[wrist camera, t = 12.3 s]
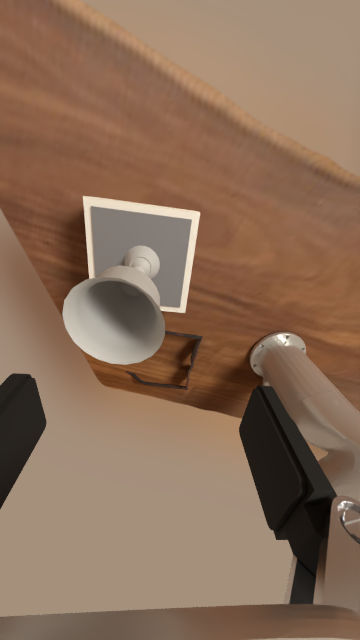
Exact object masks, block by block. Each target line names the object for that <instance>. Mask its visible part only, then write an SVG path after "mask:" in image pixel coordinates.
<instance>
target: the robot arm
mask: <svg viewBox="0 0 360 640" xmlns="http://www.w3.org/2000/svg"><path fill="white" fill-rule="evenodd" d="M250 365H251V367H252V369H253V370H254V372H255V373H256V374H258V375H260V376H262V377H263V380H262V381H263V385H262V386H257V388H256V389H253V391H252V394H251V397H250V399H249V402H248V405H247V408H246V410H245V413H244V416H243V419H242V421H241V424H240V428H239V433H240V437H241V440H242V443H243V447H244V450H245V453H246V457H247V460H248V463H249V466H250V469H251V473H252V476H253V479H254V482H255V486H256V489H257V491H258V495H259V498H260V502H261V505H262V508H263V511H264V515H265V518H266V521H267V524H268V526H269V528H270V529H271V530H273V531H274V534H275V537H276V540H288V541H289V544H290V546H291V549H292V552H293V558H292V564H291V569H290V574H289V579H288V584H287V589H286V594H285V600H284V604H279V605H278V604H276V605H241V606H219V607H218V606H217V607H193V608H170V609H149V610H128V611H107V612H86V613H66V614H47V615H28V616H10V617H0V640H360V413H359V412H358V411H357V410H356V409H355V408H354V407H353V405H352V404H351V403H350V402H349V401H348V400H347V399H346V398H345V397H344V396H343V395H342V394H341V393H340V391H339V390H338V389H337V388H336V387H335V386H334V385H333V384H332V383H331V382H330V381H329V380H328V378H327V377H326V376H325V375H324V374H323V373H322V372H321V371H320V370H319V369H318V368H317V367H316V365H315V364H314V363H313V362H312V361H311V360H310V359H309V358H308V357H307V356H306V346H305V343H304V342H303V341H302V339H301V338H300V337H299V336H297V335H295V334H293V333H290V332H277V333H273V334H270V335H268V336H266V337H264V338H263V339H261V340H260V341H259V342H258V343H257V344H256V345H255V346H254V348H253V349H252V351H251V353H250ZM45 427H46V418H45V414H44V411H43V407H42V404H41V399H40V396H39V392H38V388H37V385H36V381H35V379H34V378H32V377H31V375H29V374H12V375H10V376H9V377H8V378H7V379H6V380H5V381H4V382H3V383H2V385H0V509H1V507H2V505H3V503H4V501H5V500H6V498H7V496H8V494H9V492H10V491H11V489H12V487H13V485H14V484H15V482H16V480H17V478H18V476H19V474H20V473H21V471H22V469H23V467H24V465H25V464H26V462H27V460H28V458H29V457H30V455H31V453H32V451H33V449H34V448H35V446H36V444H37V442H38V440H39V439H40V437H41V435H42V433H43V431H44V429H45ZM306 441H307V442H308V443H310V444H311V445H313V446H315V447H317V448H320V449H322V450H324V451H327V452H328V455H327V456H325V457H324V458H322V459H320V460H319V461H317V460H316V458H315V456H314V455H313V453H312V451H311V449H310V448H309V446H308V444H307V443H306Z"/></svg>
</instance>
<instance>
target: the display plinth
mask: <svg viewBox="0 0 360 640" xmlns="http://www.w3.org/2000/svg"><path fill="white" fill-rule="evenodd" d="M83 203H84V216H85V229H86V242H87V255H88V268H89V279H92V278H96V277H97V276H98V275H99V274H100V273H101V272H103V271H104V270H106V269H107V268H110V267H115V266H119V265H120V266H125V262H124V259H125V256H126V254H127V252H128V251H129V250H130V249H131V248H133V247H135V246H146V247H149V248H151V249H152V250H153V251H154V252H155V253H156V254H157V256H158V258H159V262H160V268H159V271H158V273H157V274H156V276H155V277H153V278H152V279H151V280H152V282H153V283H154V284H155V286H156V287H157V290H158V293H159V296H160V310H161V311H169V312H181V313H185V310H186V303H187V297H188V290H189V283H190V277H191V270H192V264H193V257H194V250H195V244H196V237H197V230H198V224H199V217H200V212H197V211H192V210H185V209H178V208H170V207H163V206H156V205H149V204H142V203H135V202H127V201H120V200H113V199H106V198H99V197H88V196H83Z"/></svg>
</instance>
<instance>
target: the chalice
mask: <svg viewBox="0 0 360 640" xmlns="http://www.w3.org/2000/svg"><path fill="white" fill-rule="evenodd" d="M124 262H125V266H120V265H119V266H115V267H110V268H107V269H106V270H104V271H103V272H101V273H100V274H99V275H98V276H97V277H96V278H92V279H87V280H84V281H83V282H81V283H80V284H78V285H77V286H75V287H73V288H72V290H71V291H70V293H69V294H68V296H67V297H66V299H65V300H64V307H63V314H62V315H63V319H64V323H65V327H66V329H67V331H68V333H69V335H70V336H71V338H72V339H73V341H74V342H75V343H76V344H77V345H78V346H79V347H80V348H81V349H82V350H83V351H84V352H86V353H88V354H90V355H91V356H93V357H95V358H97V359H99V360H102V361H105V362H108V363H112V364H124V365H127V364H132V363H138V362H141V361H143V360H145V359H147V358H149V357H151V356H152V355H153V354H154V353H155V352H156V351H157V350H158V349H159V348H160V346H161V344H162V341H163V339H164V336H165V321H164V318H163V315H162V312H161V310H160V296H159V293H158V290H157V287H156V286H155V284H154V283H153V282H152V280H151V279H152V278H153V277H155V276H156V274H157V273H158V271H159V268H160V262H159V258H158V256H157V254H156V253H155V252H154V251H153V250H152V249H151V248H149V247H146V246H135V247H133V248H131V249H130V250H129V251H128V252H127V254H126V256H125V259H124Z"/></svg>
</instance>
